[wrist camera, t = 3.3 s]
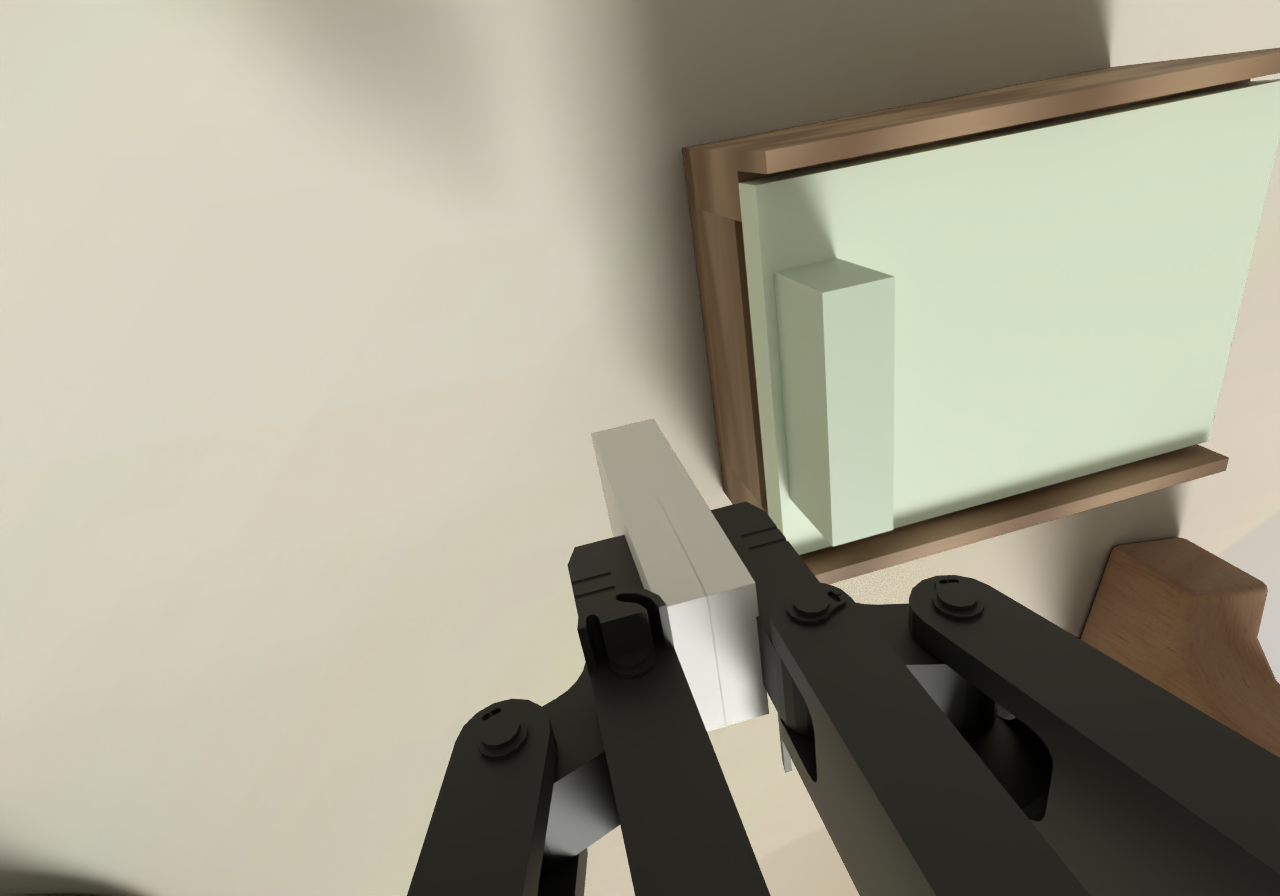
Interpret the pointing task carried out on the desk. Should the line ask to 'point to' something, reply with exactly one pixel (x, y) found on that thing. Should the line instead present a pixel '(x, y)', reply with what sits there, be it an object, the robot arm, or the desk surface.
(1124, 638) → the wooden block
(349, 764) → the desk surface
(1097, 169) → the lid
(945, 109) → the box
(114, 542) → the desk surface
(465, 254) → the desk surface
